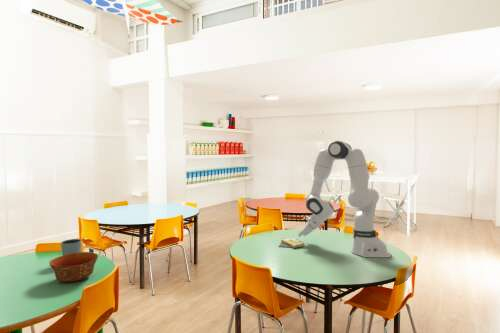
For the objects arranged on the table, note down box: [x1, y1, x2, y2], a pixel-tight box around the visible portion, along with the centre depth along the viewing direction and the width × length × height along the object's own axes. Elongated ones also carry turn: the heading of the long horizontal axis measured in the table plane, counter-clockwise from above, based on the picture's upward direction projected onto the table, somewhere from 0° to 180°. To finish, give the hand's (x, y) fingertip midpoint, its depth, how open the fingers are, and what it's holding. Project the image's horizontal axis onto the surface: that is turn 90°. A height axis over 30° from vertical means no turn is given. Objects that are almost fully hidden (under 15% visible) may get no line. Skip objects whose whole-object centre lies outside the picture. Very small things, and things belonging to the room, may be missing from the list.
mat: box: [278, 238, 298, 249], centre depth 221 cm, size 10×20×1 cm, turn 166°
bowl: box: [48, 251, 99, 283], centre depth 159 cm, size 21×21×10 cm
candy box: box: [280, 237, 306, 249], centre depth 217 cm, size 16×2×8 cm
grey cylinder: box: [60, 238, 82, 256], centre depth 183 cm, size 10×10×12 cm
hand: (299, 235), depth 219 cm, fingers closed
